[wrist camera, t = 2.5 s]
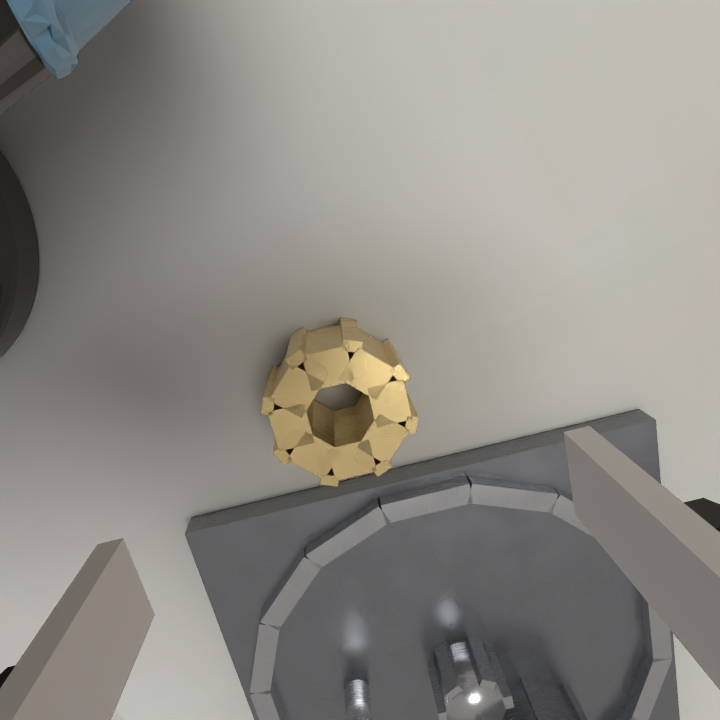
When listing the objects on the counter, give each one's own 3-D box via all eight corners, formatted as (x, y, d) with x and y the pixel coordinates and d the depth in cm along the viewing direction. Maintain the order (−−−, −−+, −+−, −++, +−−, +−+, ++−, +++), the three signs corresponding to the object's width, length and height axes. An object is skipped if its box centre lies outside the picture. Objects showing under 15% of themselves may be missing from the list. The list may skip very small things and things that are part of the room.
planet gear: (292, 454, 29) (287, 498, 24) (257, 337, 27) (245, 362, 23) (412, 425, 29) (428, 464, 24) (386, 306, 27) (398, 325, 23)
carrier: (307, 834, 36) (305, 952, 31) (191, 517, 29) (159, 593, 24) (669, 746, 36) (734, 848, 31) (639, 409, 29) (716, 458, 24)
